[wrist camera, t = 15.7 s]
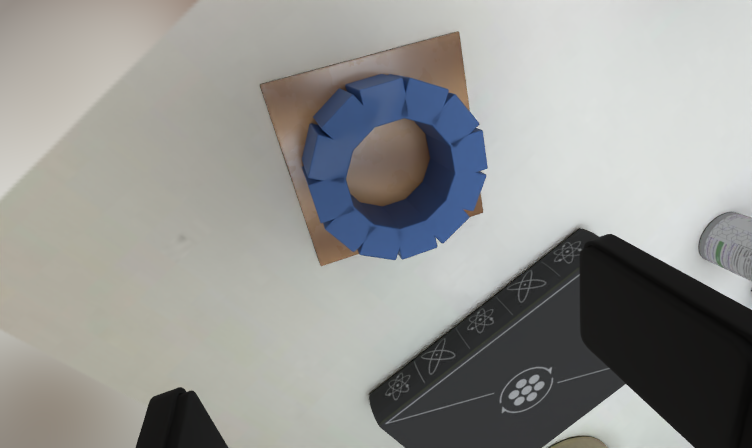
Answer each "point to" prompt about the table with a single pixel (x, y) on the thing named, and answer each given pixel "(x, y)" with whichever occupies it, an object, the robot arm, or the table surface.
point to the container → (729, 243)
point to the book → (503, 368)
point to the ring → (430, 199)
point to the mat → (382, 145)
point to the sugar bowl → (580, 443)
